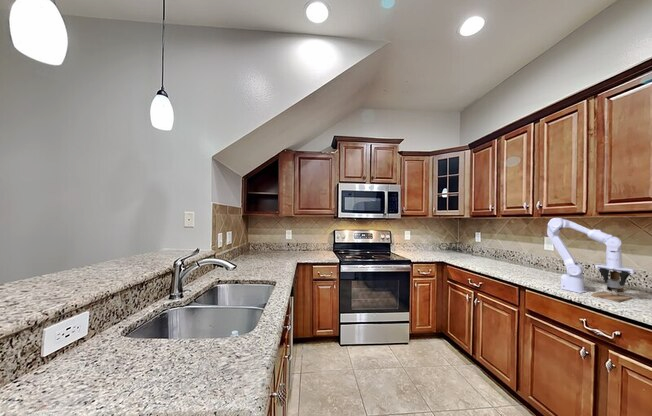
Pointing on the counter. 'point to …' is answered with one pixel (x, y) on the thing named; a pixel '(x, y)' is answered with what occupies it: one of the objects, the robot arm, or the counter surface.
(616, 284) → the hub ring
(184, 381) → the counter surface
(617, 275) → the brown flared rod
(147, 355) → the counter surface
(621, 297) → the post board
